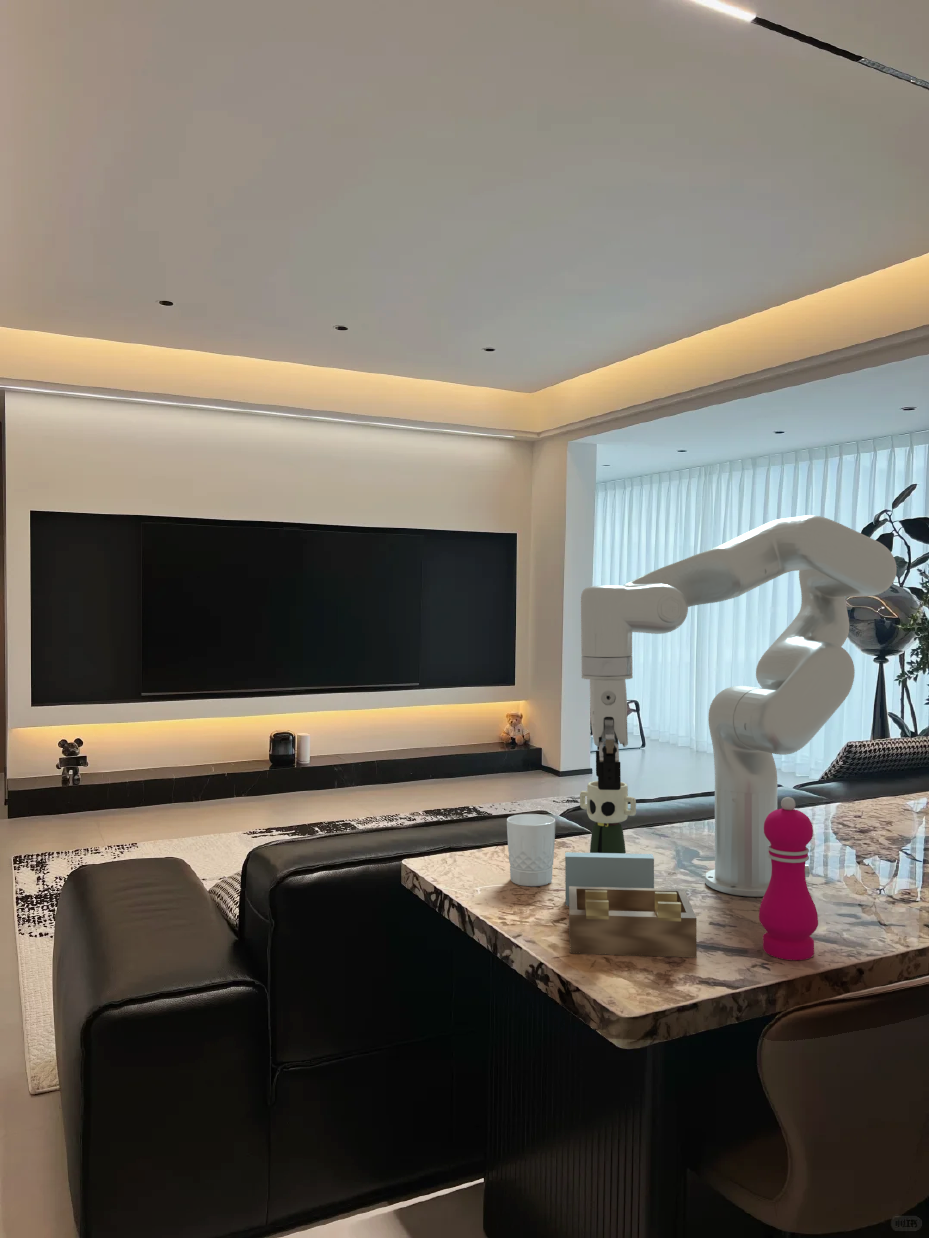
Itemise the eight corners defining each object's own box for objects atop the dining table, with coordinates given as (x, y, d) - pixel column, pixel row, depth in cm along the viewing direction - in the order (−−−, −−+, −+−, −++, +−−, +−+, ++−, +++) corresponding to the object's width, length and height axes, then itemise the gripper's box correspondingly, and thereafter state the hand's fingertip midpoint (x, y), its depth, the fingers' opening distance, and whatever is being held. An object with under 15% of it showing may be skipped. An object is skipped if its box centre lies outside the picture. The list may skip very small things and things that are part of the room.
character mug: (570, 856, 165) (570, 783, 165) (589, 847, 171) (589, 777, 171) (626, 866, 159) (626, 790, 159) (644, 857, 165) (644, 783, 164)
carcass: (684, 924, 130) (684, 873, 130) (698, 961, 117) (698, 904, 117) (569, 921, 132) (568, 870, 132) (570, 957, 119) (569, 900, 118)
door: (652, 903, 140) (652, 853, 140) (654, 908, 137) (654, 858, 137) (565, 901, 141) (565, 851, 141) (565, 906, 139) (565, 856, 139)
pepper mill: (750, 942, 123) (749, 791, 123) (802, 940, 124) (802, 790, 124) (772, 963, 116) (772, 803, 116) (828, 961, 117) (828, 802, 116)
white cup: (552, 889, 147) (552, 826, 147) (503, 886, 148) (503, 824, 148) (558, 874, 155) (557, 814, 154) (511, 872, 156) (510, 812, 156)
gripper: (636, 672, 130) (637, 795, 130) (628, 664, 147) (629, 772, 147) (582, 673, 131) (583, 794, 131) (580, 664, 148) (581, 771, 148)
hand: (607, 782), depth 139 cm, fingers open, 9 cm apart
